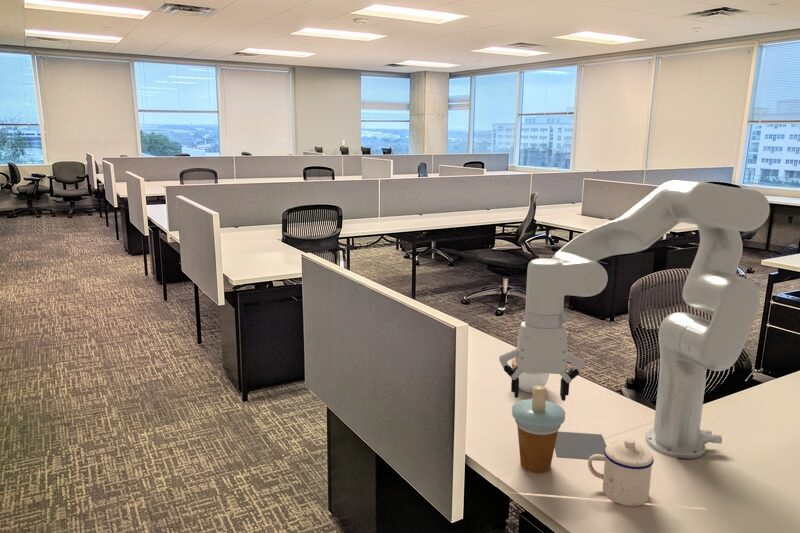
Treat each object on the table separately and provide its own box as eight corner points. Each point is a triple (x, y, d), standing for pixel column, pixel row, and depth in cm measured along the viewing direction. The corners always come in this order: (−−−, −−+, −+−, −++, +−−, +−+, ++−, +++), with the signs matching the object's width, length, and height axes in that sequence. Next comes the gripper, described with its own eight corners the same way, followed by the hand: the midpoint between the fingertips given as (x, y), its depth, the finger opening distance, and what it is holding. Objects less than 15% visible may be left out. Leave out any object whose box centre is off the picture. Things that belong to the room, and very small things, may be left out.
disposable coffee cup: (559, 481, 119) (562, 428, 117) (512, 476, 121) (515, 423, 119) (556, 457, 129) (559, 407, 126) (513, 452, 130) (515, 403, 128)
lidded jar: (503, 383, 169) (505, 352, 167) (536, 378, 172) (537, 349, 170) (522, 398, 159) (523, 366, 157) (556, 393, 162) (558, 361, 160)
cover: (560, 405, 127) (562, 379, 126) (568, 429, 117) (570, 400, 115) (510, 402, 128) (511, 376, 127) (513, 426, 118) (515, 397, 117)
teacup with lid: (650, 487, 117) (655, 435, 115) (649, 512, 109) (654, 457, 107) (588, 473, 122) (592, 423, 120) (583, 497, 114) (587, 443, 112)
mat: (601, 436, 138) (601, 434, 138) (612, 462, 126) (612, 461, 126) (550, 432, 140) (550, 430, 140) (556, 458, 128) (556, 456, 128)
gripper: (584, 315, 120) (578, 391, 124) (500, 312, 123) (497, 387, 126) (590, 326, 113) (584, 407, 117) (501, 322, 116) (498, 401, 119)
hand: (539, 396), depth 122 cm, fingers open, 9 cm apart
